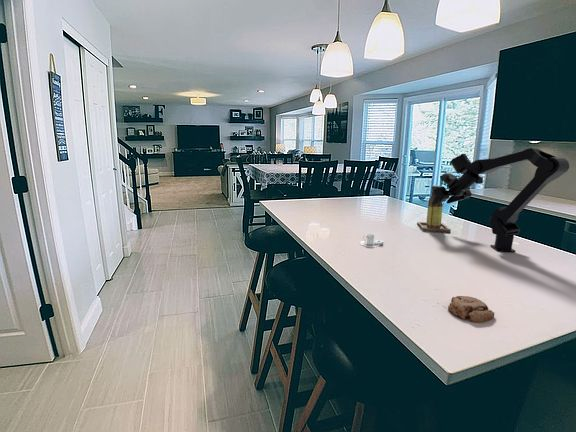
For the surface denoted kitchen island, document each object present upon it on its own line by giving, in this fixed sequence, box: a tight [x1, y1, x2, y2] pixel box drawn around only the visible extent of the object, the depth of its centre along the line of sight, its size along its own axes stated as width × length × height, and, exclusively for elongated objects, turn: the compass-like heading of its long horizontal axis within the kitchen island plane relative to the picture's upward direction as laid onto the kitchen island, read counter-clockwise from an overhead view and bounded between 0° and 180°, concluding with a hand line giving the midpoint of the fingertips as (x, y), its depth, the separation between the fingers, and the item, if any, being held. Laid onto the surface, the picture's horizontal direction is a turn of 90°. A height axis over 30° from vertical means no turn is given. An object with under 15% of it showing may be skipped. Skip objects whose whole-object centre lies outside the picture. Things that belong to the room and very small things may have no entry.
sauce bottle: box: [426, 184, 443, 228], centre depth 157 cm, size 6×6×20 cm
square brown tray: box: [416, 221, 451, 234], centre depth 160 cm, size 12×12×2 cm
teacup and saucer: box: [359, 233, 385, 248], centre depth 134 cm, size 9×8×4 cm
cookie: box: [447, 295, 495, 323], centre depth 82 cm, size 10×11×3 cm
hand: (439, 203), depth 155 cm, fingers open, 9 cm apart
